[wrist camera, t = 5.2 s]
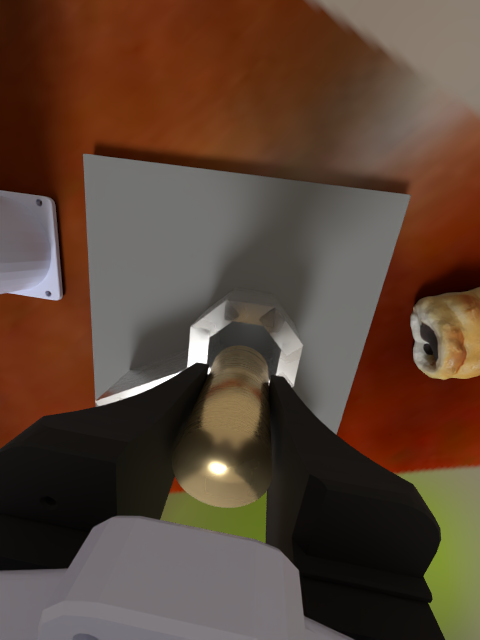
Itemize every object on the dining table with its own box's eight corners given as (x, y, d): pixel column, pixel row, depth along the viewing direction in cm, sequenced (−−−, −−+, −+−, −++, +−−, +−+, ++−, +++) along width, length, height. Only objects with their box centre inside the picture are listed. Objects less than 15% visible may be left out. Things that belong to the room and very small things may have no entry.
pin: (210, 391, 13) (171, 498, 8) (214, 342, 13) (172, 420, 7) (264, 399, 13) (265, 514, 7) (272, 349, 12) (279, 436, 7)
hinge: (129, 413, 22) (97, 452, 18) (129, 271, 19) (88, 278, 14) (296, 443, 22) (304, 492, 17) (332, 301, 18) (354, 318, 14)
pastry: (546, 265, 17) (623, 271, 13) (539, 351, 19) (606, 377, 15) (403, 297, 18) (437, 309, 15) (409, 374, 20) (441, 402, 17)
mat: (103, 411, 24) (96, 418, 23) (92, 158, 17) (83, 153, 17) (325, 452, 23) (328, 460, 22) (402, 198, 16) (411, 194, 15)
